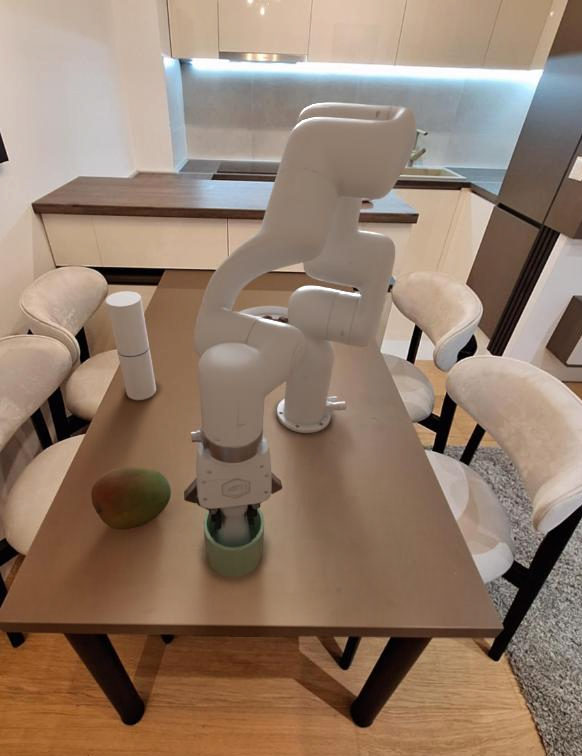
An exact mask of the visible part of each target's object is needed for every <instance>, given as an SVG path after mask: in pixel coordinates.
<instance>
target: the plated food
mask: <svg viewBox="0 0 582 756" xmlns="http://www.w3.org/2000/svg"><path fill="white" fill-rule="evenodd" d="M239 312H240V313H244V314H249V315H253V316H257V317H261V318H264V319H268V320H273V321H277V322H281V323H285V324H289V322H288V307H286V306H279V305H277V306H276V305H261V306H254V307H249V308H246V309H243V310H240V311H239Z"/></svg>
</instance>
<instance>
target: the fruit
mask: <svg viewBox="0 0 582 756" xmlns="http://www.w3.org/2000/svg"><path fill="white" fill-rule="evenodd" d="M170 485H171V484H170V483H169V481H168V479H167V478H166V476H165V475H164V474H163V473H161V472H159V471H156V470H153V469H149V468H143V467H139V466H122V467H117V468H114V469H111V470H110V471H108V472H106V473H104V474H102V476H100V477H99V478H98V479H97V480H96V481H95V483H94V484H93V486H92V488H91V493H90V497H91V504H92V506H93V510H94V511H95V512H96V514H97V516H98V517H99V518H100V519H101V521H102V522H103V523H104V524H105V525H106V526H107V527H109V528H111V529H114V530H120V531H127V530H132V529H136V528H140V527H143V526H145V525H147V524H149V523H150V522H152V521H153V520H155V519H156V518H157V517H158V516H159V515H160V514H161V513H162V512H163V511H164V510H165V509H166V507H167V506H168V504H169V502H170V499H171V494H172V492H171V491H172V490H171V486H170Z"/></svg>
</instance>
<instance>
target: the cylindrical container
mask: <svg viewBox="0 0 582 756" xmlns="http://www.w3.org/2000/svg"><path fill="white" fill-rule="evenodd" d="M105 303H106V308H107V312H108V316H109V322H110V325H111V330H112V335H113V339H114V343H115V348H116V352H117V353H116V354H117V358H118V361H119V366H120V370H121V374H122V379H123V383H124V388H125V393H126V396H127V397H128V398H129V399H131V400H135V401H142V400H146V399H147V400H148V399H150V398H151V397H153V396H154V395H155V393H156V391H157V386H156V380H155V374H154V373H155V372H154V368H153V362H152V356H151V350H150V344H149V338H148V331H147V325H146V319H145V312H144V307H143V299H142V296H141V294H140V293H138V292H136V291H132V290H131V291H130V290H123V291H117V292H113V293H111V294H110V295H108V296H107V297H106V298H105Z"/></svg>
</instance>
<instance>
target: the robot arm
mask: <svg viewBox="0 0 582 756" xmlns="http://www.w3.org/2000/svg"><path fill="white" fill-rule="evenodd" d="M417 126H418V124H417V118H416V115H415V113H414V112H413V110H412V109H410V108H409V107H405V106H396V105H384V104H383V105H380V104H365V103H364V104H363V103H354V102H353V103H351V102H320V103H315V104H311V105H309V106H307V107H305V108H304V109H302V110H301V112H300V114H299V116H298V117H297V122H296V125H295V126H294V128H292V130H291V132H290V133H289V135H288V138H287V140H286V143H285V147H284V149H283V153H282V156H281V159H280V163H279V166H278V169H277V172H276V176H275V180H274V182H273V186H272V189H271V192H270V195H269V199H268V202H267V205H266V208H265V212H264V216H263V219H262V223H261V225H260V228H259V229H258V231H257V232H256V233H254V234H253V235H252V236H251V237H250V238H248V239H247V240H245V241H244V242H243V243H241V244H240V245H239V246H237V247H236V248H235V249H234V250H233V251H232V252H231V253H230V254H229V255H228V256H227V257H226V258H225V259H224V260H223V261H222V262H221V264H220V265H218V267H217V268H216V270H215V271H214V272H213V274H212V275H211V277H210V279H209V281H208V284H207V285H206V289H205V291H204V294H203V297H202V301H201V305H200V308H199V311H198V313H197V314H198V315H197V318H196V322H195V326H194V331H193V346H194V351H195V354H196V355H197V356H198V358H199V361H198V365H197V374H198V375H197V378H198V379H197V380H198V390H199V402H200V415H201V427H199V429H197V430H196V431H195V430H194V431H191V432H190V436H191V443H198V447H197V451H196V452H197V453H196V464H195V465H196V467H195V469H196V470H195V475H196V477H195V478H194V479H193V481H192V482H190V484H189V485H188V486H187V488H186V489H184V491H183V499H184V501H185V502H188V503H192V504H197V506H198V507H201V508H203V509H205V510H207V511H208V510H209V513H210V514H211V521H212V522H216V526H217V530H220V529H221V511H220V508H224V507H233V506H241V505H248V508H247V511H246V512H247V518H248V524H249V525H250V526H251V525H253V524H254V517H257V512H258V508H261V504H262V503H264V502H266V501H268V500H270V498H271V496H272V495H274V494H276V493H277V492H280V491H282V490H283V484H282V480H281V479H280V478H279V477H277V475H275V474H274V473H273V471H272V458H271V451H270V446H269V443H268V441H267V438H266V436H265V435H264V415H265V414H264V413H265V399H266V397H267V396H268V395H270V394H271V393H273V391H275V390H276V389H277V388H278V387H280V386H282V385H283V384H284V383H285V388H284V389H285V391H284V398H283V399H281V400H280V402H279V403H278V405H277V408H276V416H277V419H278V421H279V422H280V424H281V425H283V426H284V427H286V428H287V429H289V430H290V431H294V432H297V433H301V434H310V433H311V434H312V433H318V432H320V431H322V430H324V429H325V428H326V427H327V426H328V425H329V424H330V422H331V418H332V413H333V412H334V411H346V410H347V404H346V401H338V396H336V395H335V396H329V391H330V384H331V380H332V379H331V378H332V374H333V373H332V372H333V367H334V363H335V362H334V361H335V349H334V346H333V343H332V342H334V343H338V344H342V345H347V346H351V347H357V348H366V347H369V346H370V345H371V344H372V343H374V340H375V339H376V336H377V334H378V331H379V328H380V324H381V321H382V316H383V312H384V308H385V304H386V299H387V295H388V291H389V287H390V284H391V280H392V276H393V271H394V266H395V260H396V246H395V243H394V241H393V239H392V238H391V237H389V236H388V235H385V234H382V233H378V232H373V231H365V230H360V229H359V219H360V214H361V209H362V204H363V199H366V200H381V199H383V198H385V197H387V196H388V194H389V193H390V192H391V191H392V189H393V188H394V187H395V185H396V184H397V182H398V180H399V178H400V176H401V175H402V173H403V172H404V170H405V168H406V167H407V165H408V164H409V163H408V162H409V161H410V159H411V156H412V154H413V151H414V148H415V144H416V139H417V132H418V131H417V130H418V129H417ZM299 264H303V270H304V271H303V272H304V273H305V274H306V275H307V276H308V277H309V278H311V279H313V280H316V281H321V282H325V283H330V284H334V285H339V286H344V287H350V288H356V289H357V290H358V292H359V294H358V293H353V292H348V291H342V290H339V289H334V288H329V287H324V286H319V285H304V286H301V287H298V288H297V289H295V291H294V292H293V293H292V294H291V296H290V297H289V300H288V304H287V308H288V322H289V324H285V323H281V322H277V321H273V320H268V319H264V318H261V317H257V316H253V315H249V314H244V313H240V311H236V310H233V308H234V305H235V302H236V300H237V298H238V296H239V295H240V293H241V292H242V291H243V289H245V287H246V286H247V285H248V284H249V283H251V282H252V281H254V280H255V279H256V278H259V277H260V276H262V275H264V274H266V273H269V272H272V271H276V270H279V269H282V268H283V269H284V268H286V267H290V266H295V265H299Z"/></svg>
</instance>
